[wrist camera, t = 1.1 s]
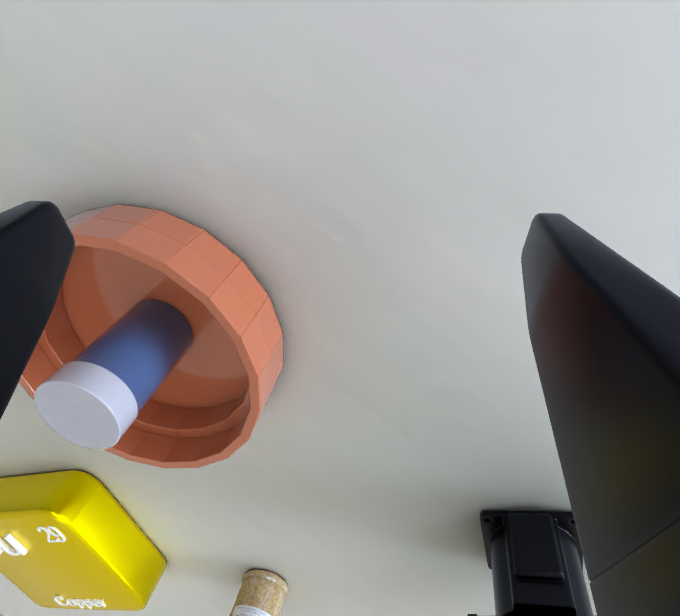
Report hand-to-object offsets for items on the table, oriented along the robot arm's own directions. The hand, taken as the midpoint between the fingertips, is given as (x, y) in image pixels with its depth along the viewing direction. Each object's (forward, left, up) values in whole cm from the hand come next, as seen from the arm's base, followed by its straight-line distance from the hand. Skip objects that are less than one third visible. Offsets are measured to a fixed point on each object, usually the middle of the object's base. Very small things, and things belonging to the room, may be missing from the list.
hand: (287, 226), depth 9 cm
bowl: (-9, +16, -14) cm, 23 cm away
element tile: (-30, +37, -14) cm, 50 cm away
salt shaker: (-9, +16, -14) cm, 23 cm away
